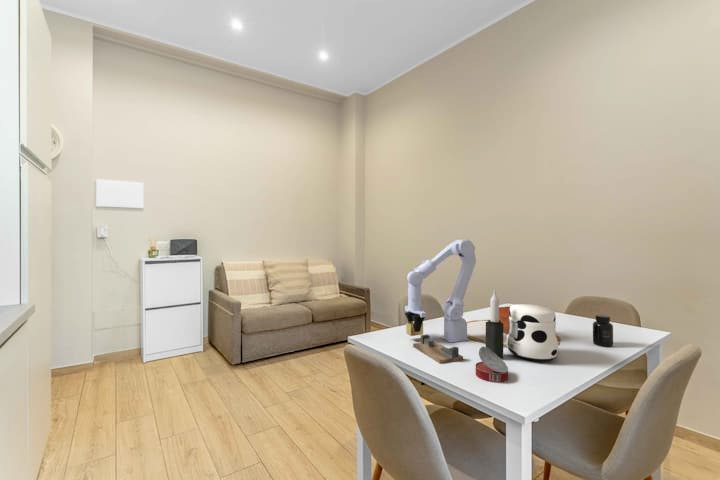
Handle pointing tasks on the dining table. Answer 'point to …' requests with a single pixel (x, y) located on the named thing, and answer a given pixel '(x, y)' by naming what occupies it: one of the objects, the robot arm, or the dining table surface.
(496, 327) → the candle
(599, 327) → the supplement bottle
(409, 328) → the block
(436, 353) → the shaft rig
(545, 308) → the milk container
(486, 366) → the canned food
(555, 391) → the dining table surface
